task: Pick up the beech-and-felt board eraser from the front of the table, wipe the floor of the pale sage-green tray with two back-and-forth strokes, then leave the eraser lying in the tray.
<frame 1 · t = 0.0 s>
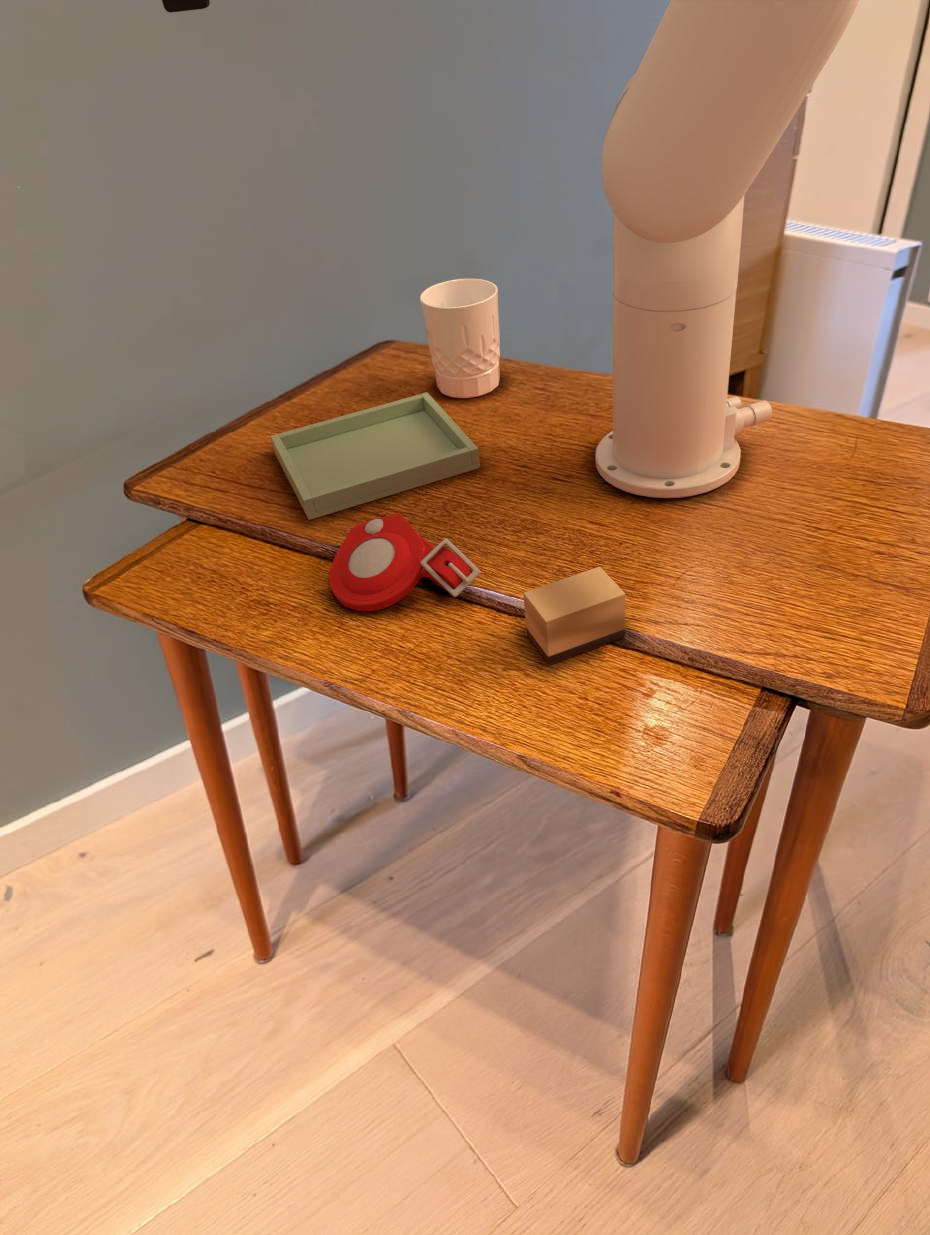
hand: (218, 0, 64), 37 cm above the table, tool pointing down, fingers open, 9 cm apart
eraser: (575, 636, 64), on the table
tray: (374, 461, 86), on the table
white cup: (469, 386, 97), on the table
tracker holder: (402, 587, 71), on the table
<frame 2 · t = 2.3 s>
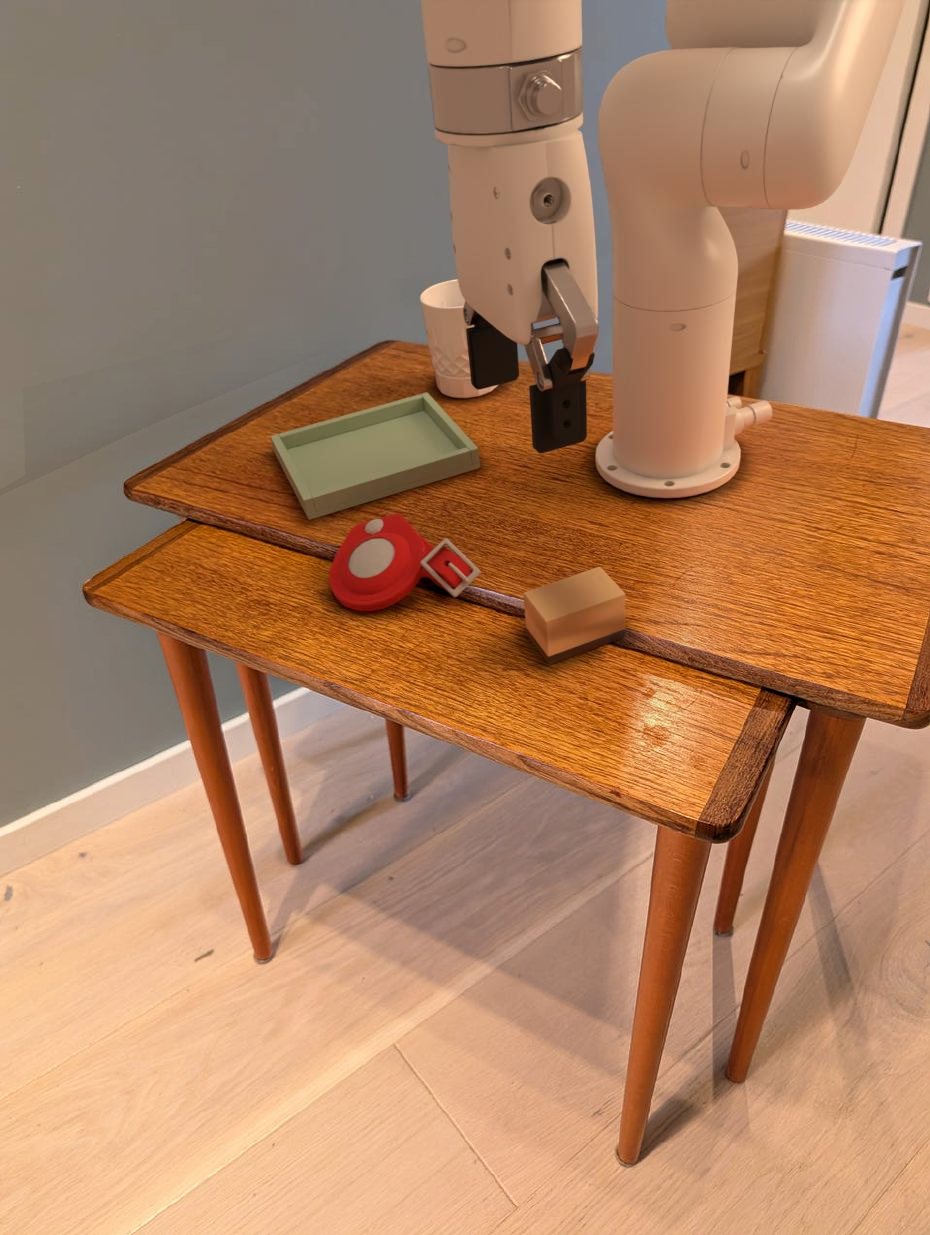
hand: (525, 412, 55), 17 cm above the table, tool pointing down, fingers open, 9 cm apart
nothing on the table moved.
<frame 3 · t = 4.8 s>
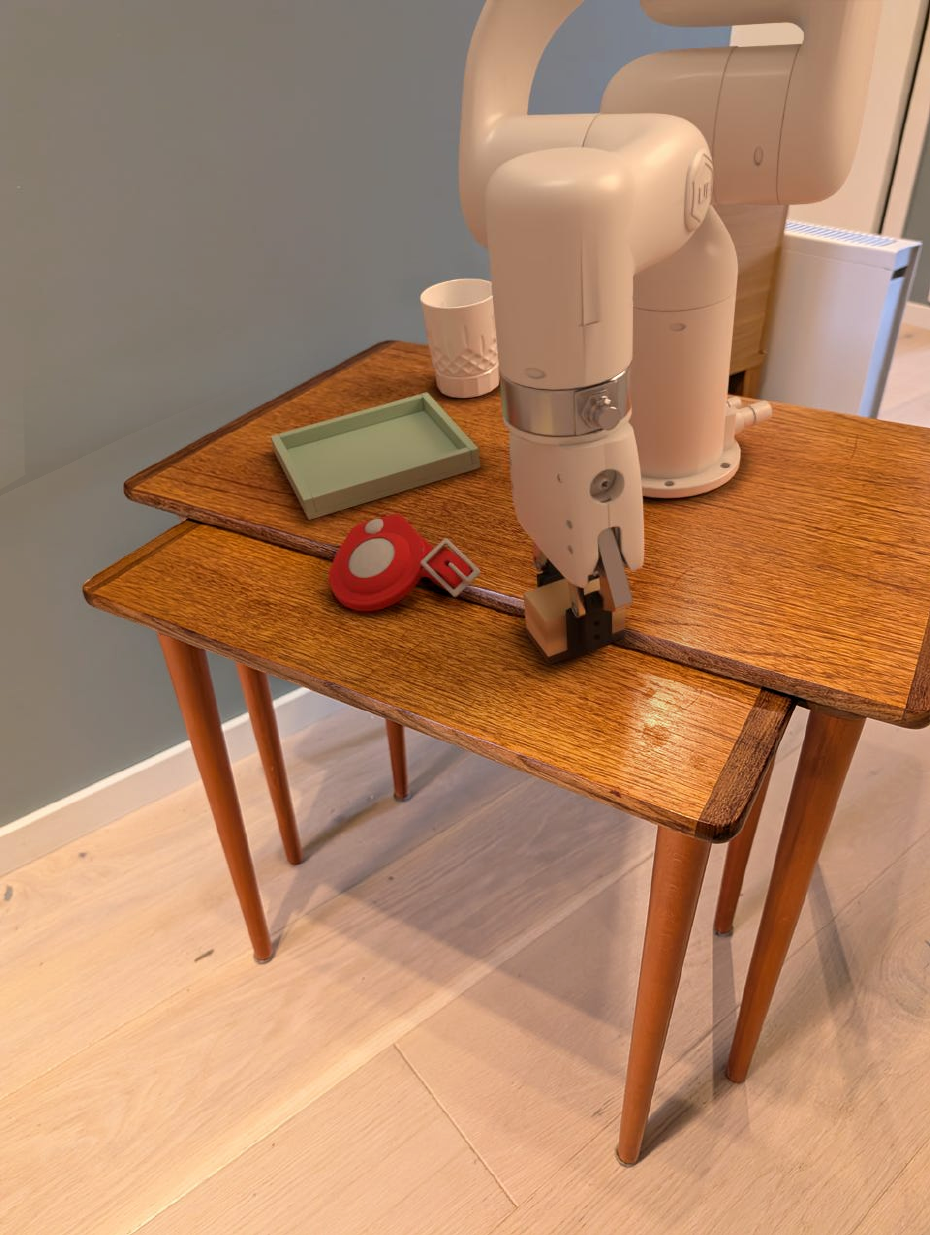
hand: (575, 628, 63), 1 cm above the table, tool pointing down, fingers closed on eraser, 3 cm apart
eraser: (575, 636, 64), on the table, touching gripper
everything else where it was.
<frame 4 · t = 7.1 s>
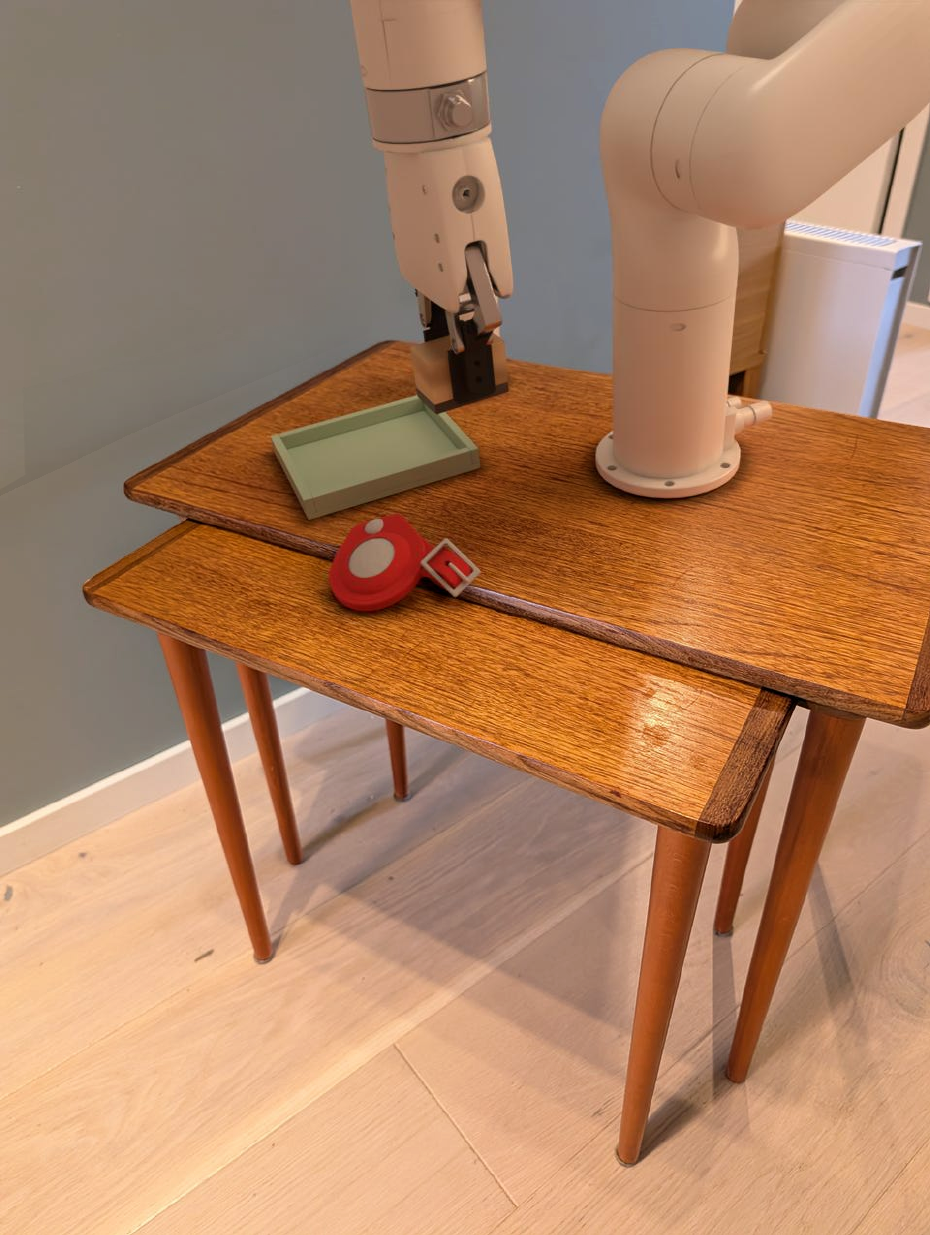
hand: (462, 384, 67), 13 cm above the table, tool pointing down, fingers closed on eraser, 3 cm apart
eraser: (462, 394, 67), point 12 cm above the table, touching gripper
everything else where it was.
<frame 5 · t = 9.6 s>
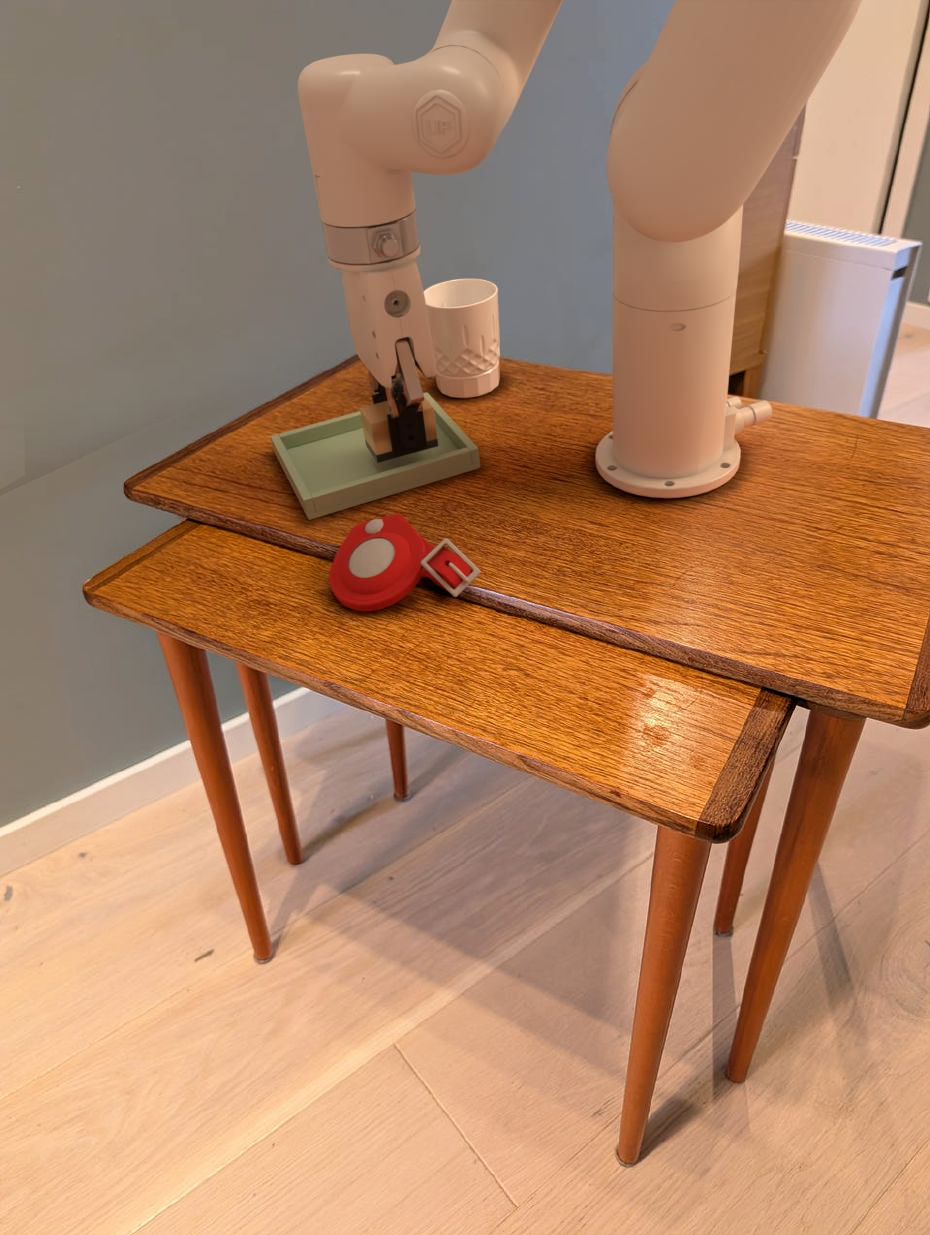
hand: (402, 439, 83), 3 cm above the table, tool pointing down, fingers closed on eraser, 3 cm apart
eraser: (402, 446, 84), point 2 cm above the table, touching gripper
everything else where it was.
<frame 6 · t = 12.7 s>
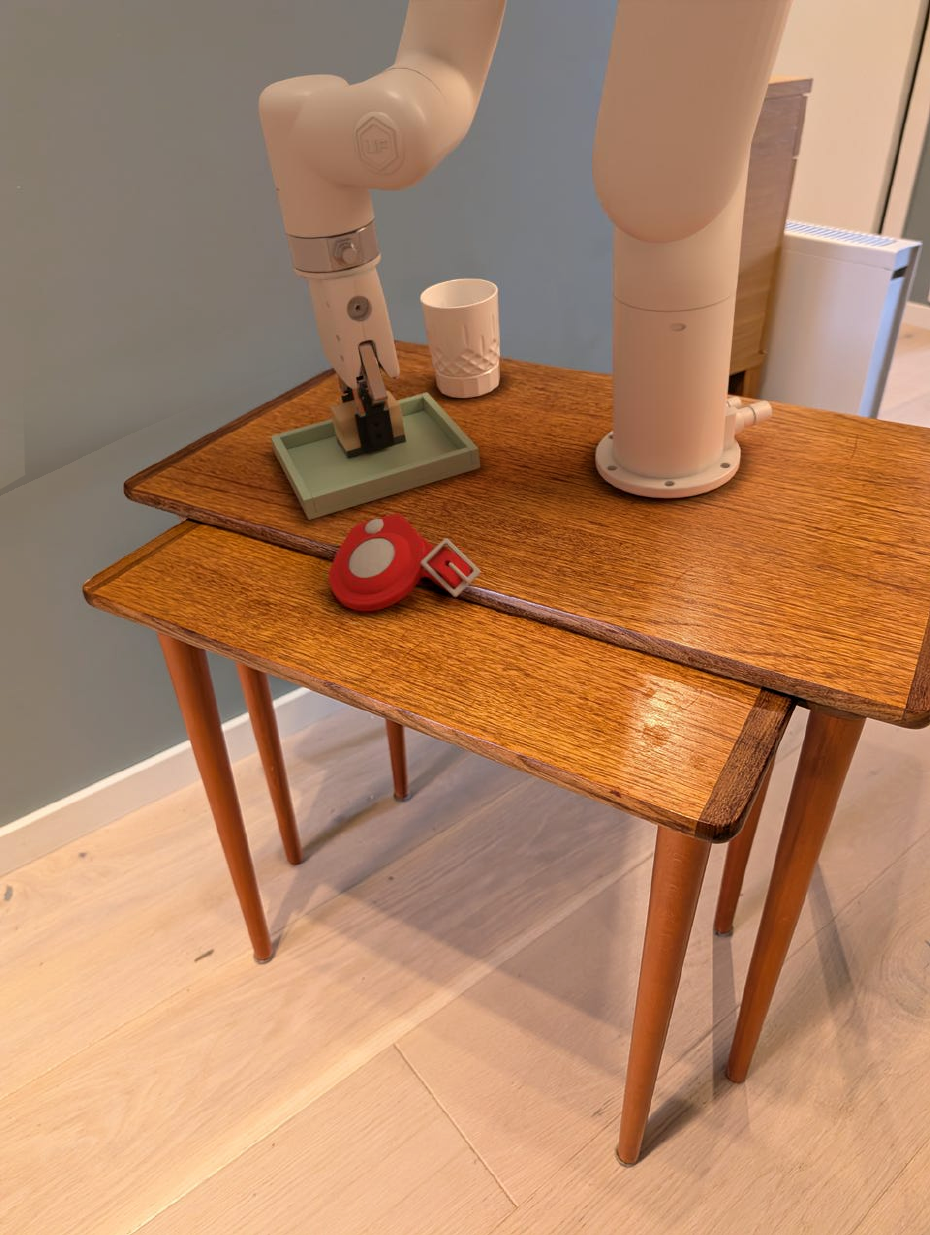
hand: (371, 437, 87), 1 cm above the table, tool pointing down, fingers closed on eraser, 3 cm apart
eraser: (371, 442, 88), point 1 cm above the table, touching gripper
everything else where it was.
when the fingers open (1 cm above the table, at t = 14.8 s): eraser stays where it is, resting on tray.
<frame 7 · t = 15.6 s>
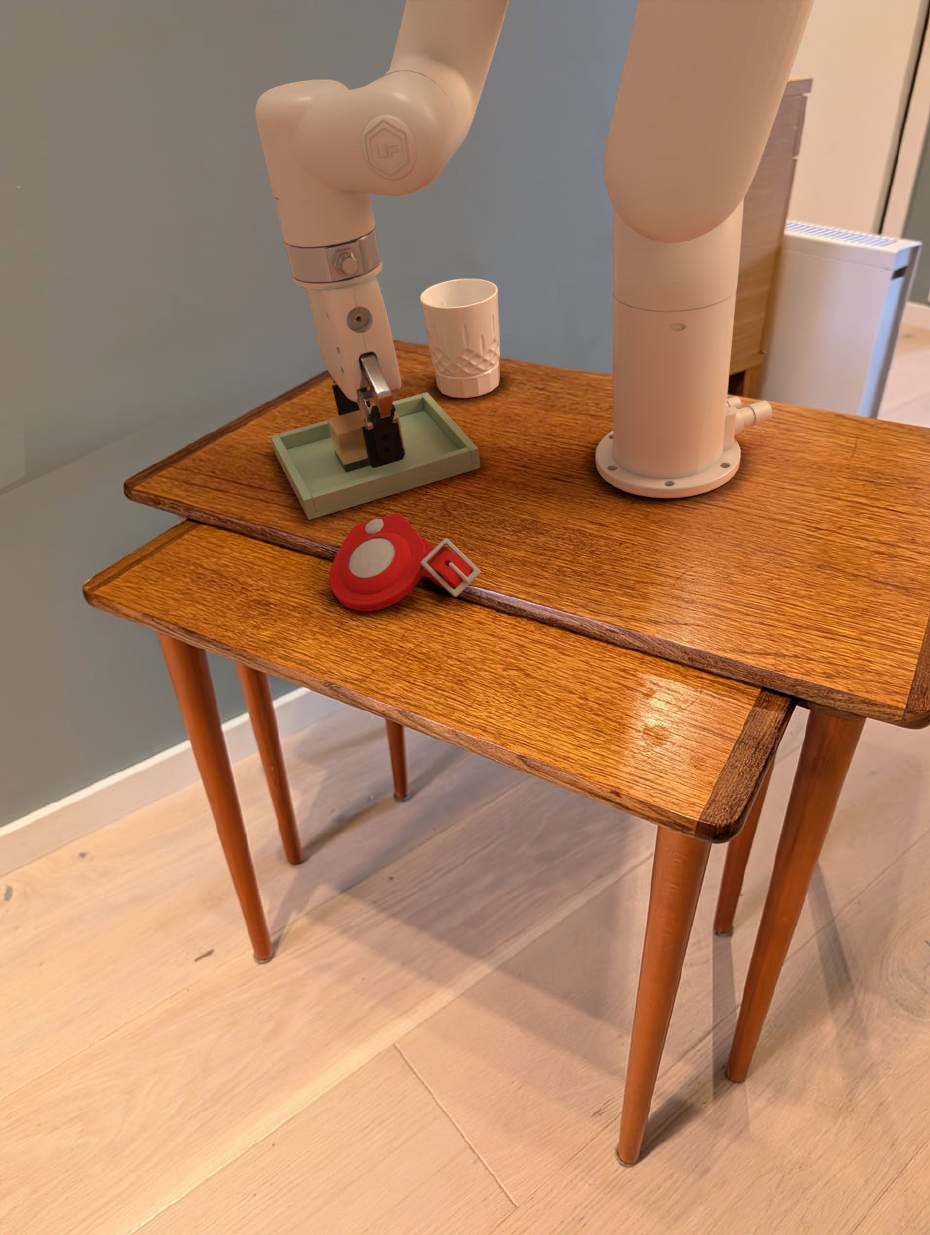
hand: (371, 440, 85), 2 cm above the table, tool pointing down, fingers open, 9 cm apart
eraser: (370, 455, 86), point 1 cm above the table, touching tray
everything else where it was.
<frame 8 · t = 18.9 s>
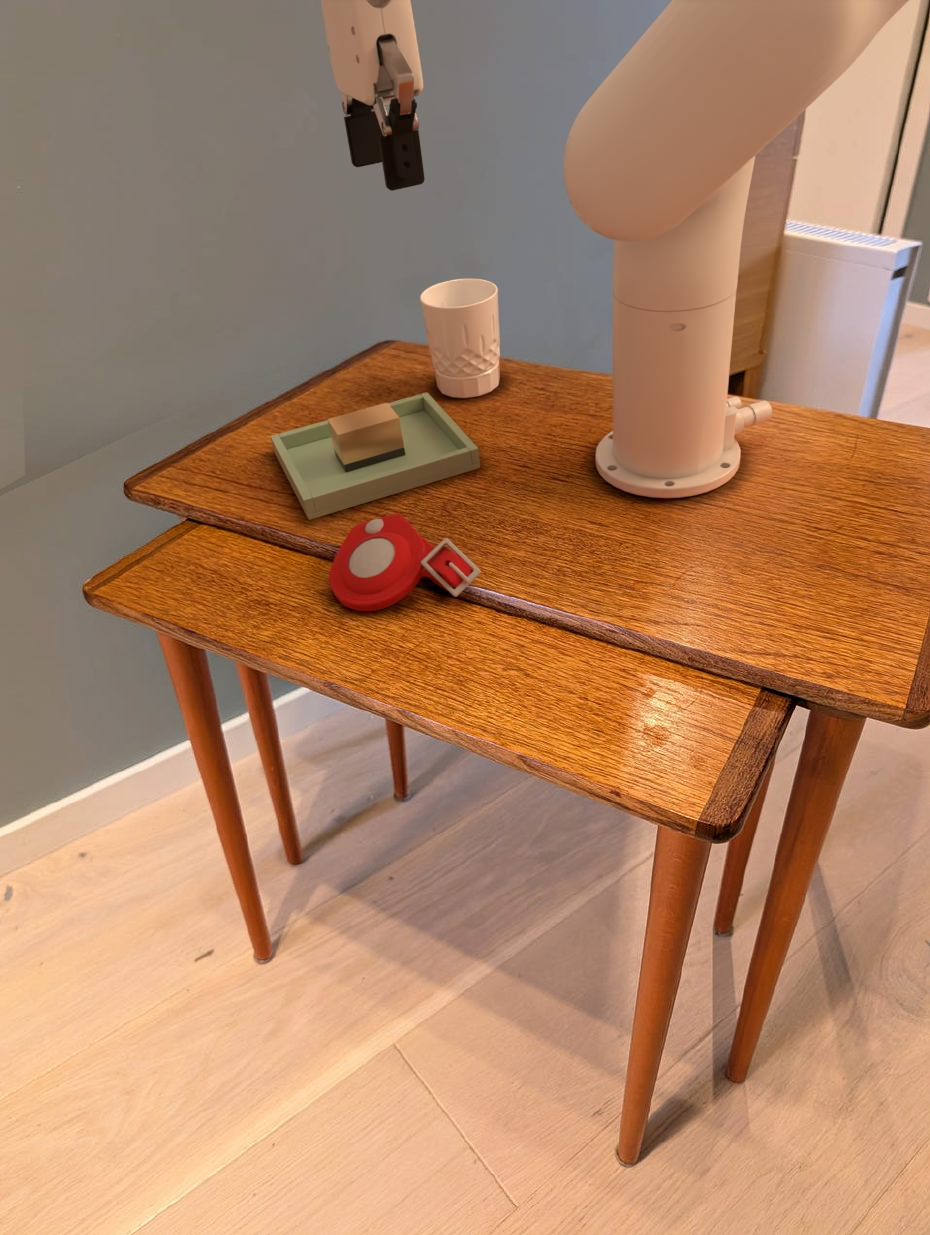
hand: (387, 174, 77), 23 cm above the table, tool pointing down, fingers open, 9 cm apart
nothing on the table moved.
at the end: eraser inside the target area in the tray (0.2 cm from its centre), point 0.6 cm above the tray's base; eraser moved 32.6 cm from its start; the gripper is holding nothing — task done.
